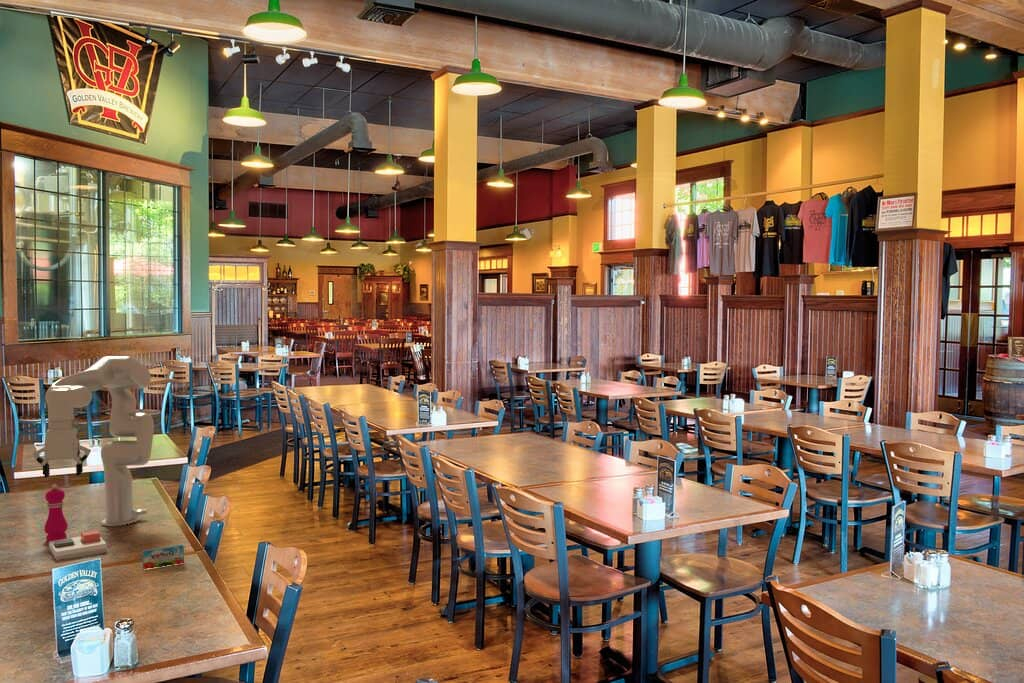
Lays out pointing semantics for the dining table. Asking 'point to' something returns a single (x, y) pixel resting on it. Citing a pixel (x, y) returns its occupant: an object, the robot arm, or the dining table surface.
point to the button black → (64, 543)
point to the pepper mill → (55, 515)
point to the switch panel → (78, 548)
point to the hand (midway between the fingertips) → (63, 475)
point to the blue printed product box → (163, 556)
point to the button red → (90, 536)
